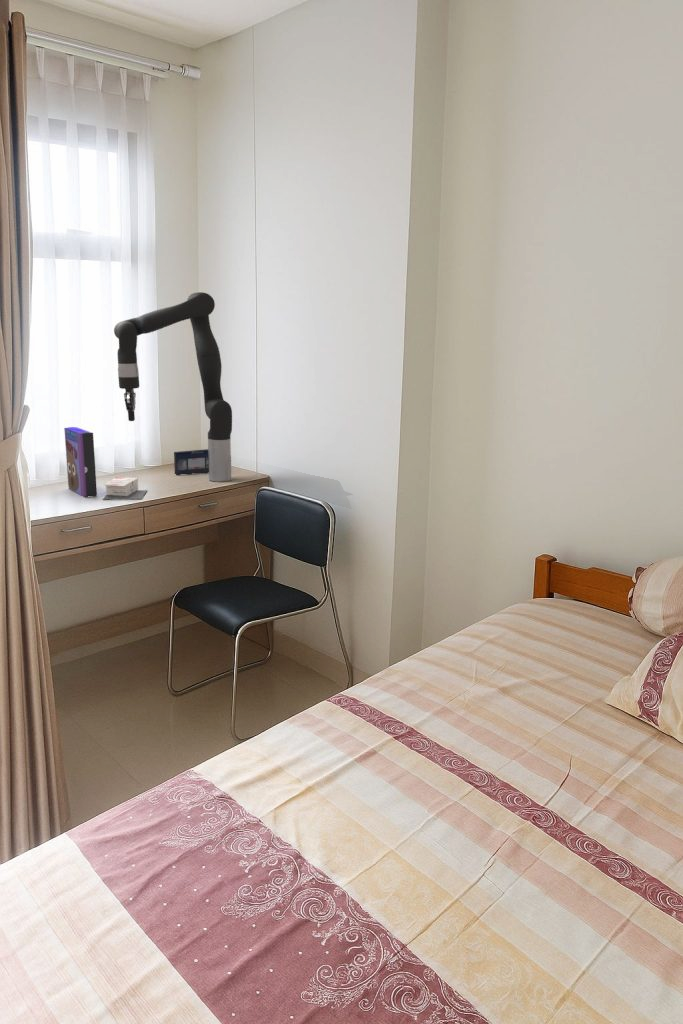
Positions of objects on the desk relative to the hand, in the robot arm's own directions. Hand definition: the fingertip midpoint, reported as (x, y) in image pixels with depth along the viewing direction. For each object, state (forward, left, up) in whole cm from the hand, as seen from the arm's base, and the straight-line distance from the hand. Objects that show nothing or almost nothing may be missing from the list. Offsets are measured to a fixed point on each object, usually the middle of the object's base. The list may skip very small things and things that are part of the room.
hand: (131, 420), depth 301 cm
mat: (+1, +15, -26) cm, 30 cm away
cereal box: (+18, +9, -27) cm, 33 cm away
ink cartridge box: (+2, +5, -24) cm, 24 cm away
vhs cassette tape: (-22, -27, -27) cm, 44 cm away
